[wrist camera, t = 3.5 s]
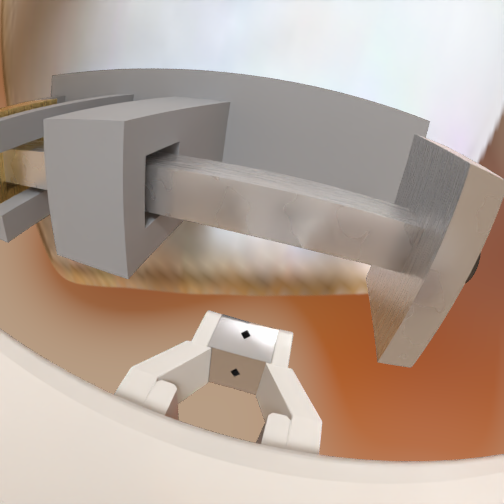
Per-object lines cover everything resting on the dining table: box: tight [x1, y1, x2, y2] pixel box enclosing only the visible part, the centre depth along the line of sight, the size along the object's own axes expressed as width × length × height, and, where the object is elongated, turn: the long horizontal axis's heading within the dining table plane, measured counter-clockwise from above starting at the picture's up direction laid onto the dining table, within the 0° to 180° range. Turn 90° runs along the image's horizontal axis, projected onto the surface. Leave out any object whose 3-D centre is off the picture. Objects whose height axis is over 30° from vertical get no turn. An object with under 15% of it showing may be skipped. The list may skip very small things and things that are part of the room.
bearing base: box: [0, 69, 430, 279], centre depth 15 cm, size 10×30×14 cm, turn 81°
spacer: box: [0, 99, 57, 204], centre depth 14 cm, size 6×3×6 cm, turn 171°
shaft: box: [3, 134, 504, 367], centre depth 12 cm, size 8×28×6 cm, turn 81°
